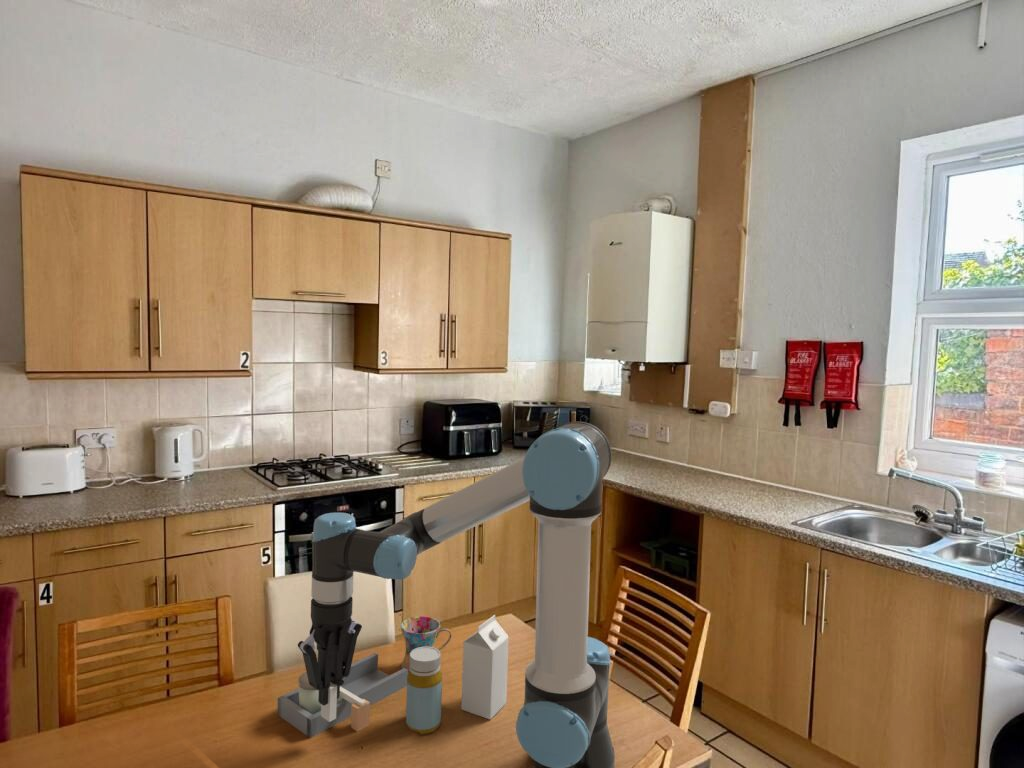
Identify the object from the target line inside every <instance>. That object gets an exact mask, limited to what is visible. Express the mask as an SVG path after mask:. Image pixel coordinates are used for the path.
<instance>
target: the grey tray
mask: <svg viewBox="0 0 1024 768" xmlns="http://www.w3.org/2000/svg"><path fill="white" fill-rule="evenodd" d="M407 675H408V669H406V668H402V669H400V670H398V671H396V672H394V673H392V674H387V673H385V672H383V671H382V670H379V654H378V653H376V652H373V653H372V654H369V655H366V656H365V657H362V658H360V659H358V660H356V661H354V662H352V664H351V669H350V673H349V675H348V676H347V677H344V678H343V679H342V680H343V681H344V683H343V685H341V686H340V687H342V688H344V689H346V690H347V691H349V692H351V693H352V694H354V695H356V696H358V697H359V698H361V699H365V700H367V701H369V702H370V707H371V706H373V705H374V704H376V703H378V702H380V701H382V700H384V699H387V698H388V697H389V696H391V695H393V694H394V693H395V694H396V693H397V692H398V691H400V690H402V689H404V688H407ZM351 705H352V703H350V702H349V701H347V700H345V699H343V700H341V701H339V702H337V706H336V719H334V720H333V721H331V722H329V721H327V720H326V719H324V718H323V717H321V711H319V712H317V713H315V714H313V715H312V714H311V713H309V712H307V711H306V710H304V709H303V708H301V707H300V706H299V687H298V688H296V689H294V690H292V691H289V692H287V693H285V694H283V695H280V696H279V697H277V716H278V717H280V718H281V719H282V720H284V721H285V722H287V723H288V724H289V725H291V726H292V727H293V728H296V729H297V730H298V731H299V732H301V733H302V734H304V735H305V736H307V737H308V738H309V739H312V738H314V737H316V736H317V735H320V734H322V733H323V732H325V731H327V730H329V729H330V728H333V727H334V726H335V725H338V724H340V723H341V722H343V721H345V720H347V719H349V718H351Z"/></svg>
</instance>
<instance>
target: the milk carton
mask: <svg viewBox="0 0 1024 768" xmlns="http://www.w3.org/2000/svg"><path fill="white" fill-rule="evenodd" d="M462 644H463V645H462V647H463V648H462V673H461V675H462V677H461V679H462V681H461V710H463V711H465V712H468V713H470V714H473V715H476V716H479V717H482V718H484V719H486V720H487V719H488V720H492V719H493V718H494V717H495V716H496V715H497V714H498V712H499V711H501V710H502V708H503V707H504V706H505V705H506V704H507V693H508V692H507V691H508V690H507V689H508V663H509V662H508V661H509V635H508V633H506V631H505V630H504V629H503V627H502V626H501V625H500V624H499V622H498V621H497V620H496V614H494V615H492V616H491V617H490V618H488V619H486V620H485V621H484V622H483V623H481V624H480V625H479V626H477V631H476V632H475V633H473V634H472V635H470V636H469V637H467V638H466V639H464V641H463V643H462Z"/></svg>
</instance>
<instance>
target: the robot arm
mask: <svg viewBox="0 0 1024 768" xmlns="http://www.w3.org/2000/svg"><path fill="white" fill-rule="evenodd" d="M527 449H528V450H527V451H526V454H525V456H523V458H520V459H519V460H516V461H515V462H512V463H510V464H509V465H506V466H505V467H503V468H501V469H499V470H497V471H495V472H493V473H491V474H489V475H486V476H485V477H483V478H481V479H479V480H477V481H475V482H473V483H472V484H470V485H467V486H465V487H463V488H461V489H460V490H457V491H455V492H454V493H451V494H450V495H447V496H446V497H444V498H442V499H440V500H438V501H436V502H434V503H432V504H430V505H428V506H426V507H425V508H423V509H421V510H418V511H415V512H413V513H411V514H409V515H407V516H406V517H404V518H402V519H401V520H400V521H397V522H396V523H394V524H392V525H390V526H389V527H386V528H384V529H383V530H380V531H369V530H364V529H361V528H357V524H356V518H355V516H353V515H352V514H349V513H346V512H329V513H323V514H322V515H319V516H318V517H316V518H315V519H314V522H313V530H312V531H313V532H312V538H311V543H312V545H311V546H312V547H311V548H312V550H311V551H312V553H311V554H312V570H311V601H310V619H311V627H310V630H309V635H308V637H306V639H305V640H304V641H303V640H300V641H299V642H298V643H297V647H298V649H299V650H300V652H301V654H302V657H303V662H304V667H305V671H306V672H307V676H308V681H309V685H311V686H312V687H314V688H315V689H317V690H319V696H318V701H319V703H320V704H321V717H323V718H324V719H326V720H327V721H329V722H331V721H333V720H334V719H336V706H337V699H338V698H339V695H340V686H341V685H343V683H344V681H343V680H342V679H343V678H344V677H347V676H348V675H349V673H350V669H351V664H352V663H353V658H354V654H355V650H356V645H357V640H358V638H359V637H358V636H359V634H360V632H361V630H362V628H363V626H362V624H360V623H358V622H356V621H354V620H353V619H352V616H353V603H354V602H353V601H354V600H353V594H354V573H360V574H365V575H370V576H373V577H374V576H375V577H379V578H382V579H384V580H385V579H387V580H398V581H399V580H405V579H406V578H408V577H409V576H410V575H411V573H412V571H413V570H414V568H415V567H416V564H417V563H416V562H417V557H418V555H420V554H421V553H422V554H423V552H426V551H427V550H429V549H431V548H433V547H435V546H437V545H439V544H441V543H444V542H445V541H448V540H449V539H452V538H454V537H456V536H458V535H460V534H462V533H464V532H467V531H468V530H471V529H473V528H474V527H476V526H478V525H481V524H483V523H485V522H487V521H489V520H491V519H493V518H496V517H498V516H500V515H502V514H504V513H506V512H508V511H510V510H512V509H514V508H517V507H518V506H521V505H523V504H525V503H527V502H529V512H530V513H531V514H532V515H533V516H534V517H535V519H537V521H538V522H537V524H538V525H537V527H538V528H537V556H536V557H537V562H536V563H537V565H536V567H537V568H536V601H535V604H536V605H535V634H534V635H535V637H534V639H535V640H534V659H533V660H532V661H530V662H528V664H527V665H526V668H525V673H524V674H525V675H524V681H525V682H524V699H523V700H524V701H523V706H522V707H521V709H520V710H519V711H518V714H517V715H518V716H517V719H516V724H515V731H516V737H517V740H518V742H519V745H520V746H521V748H522V749H523V750H524V751H525V752H526V753H527V754H528V755H529V757H530V758H531V759H532V760H533V761H534V765H535V767H536V768H615V759H616V758H615V757H616V755H615V753H616V752H615V748H614V745H613V741H612V738H611V735H610V734H611V733H610V730H609V726H608V709H609V708H608V706H609V705H608V703H609V683H610V667H611V666H610V665H611V664H612V661H611V652H610V649H609V647H608V645H606V643H604V642H602V641H600V640H599V639H597V638H595V637H591V636H588V634H589V604H590V603H589V601H590V577H591V575H590V572H591V571H590V569H591V545H592V544H591V541H592V539H591V538H592V523H593V522H594V521H595V520H596V519H597V518H598V517H600V515H601V513H602V498H603V497H602V496H603V493H602V491H603V479H604V478H605V477H606V475H607V474H608V472H609V470H610V468H611V464H612V461H613V453H612V447H611V444H610V441H609V439H608V438H607V436H606V434H605V433H604V432H603V431H602V430H601V429H600V428H598V427H597V426H596V425H594V424H592V423H589V422H586V421H585V422H584V421H571V422H567V423H565V424H562V425H560V426H558V427H557V428H553V429H551V430H548V431H546V432H544V433H543V434H541V435H540V436H539V437H537V438H536V439H535V440H534V441H533V443H532V444H531V445H530V446H529V448H527ZM315 645H316V646H315ZM315 650H317V653H316V652H315Z"/></svg>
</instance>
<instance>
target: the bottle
mask: <svg viewBox="0 0 1024 768" xmlns="http://www.w3.org/2000/svg"><path fill="white" fill-rule="evenodd" d="M441 655H442V654H441V650H438V648H436V647H435V646H434V647H427V646H426V647H418V648H416V649H414V650H412V651H411V653H410V667H409V669H410V670H409V672H408V675H407V686H406V704H405V705H406V706H405V711H406V712H405V724H406V727H407V728H408V729H409V730H410V731H414V732H416V733H417V734H418V735H428V734H431V733H433V732H434V733H435V731H436V730H437V729H438V728H439V727H440V726H441V722H442V695H443V694H442V693H443V692H442V691H443V673H442V671H441Z"/></svg>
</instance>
